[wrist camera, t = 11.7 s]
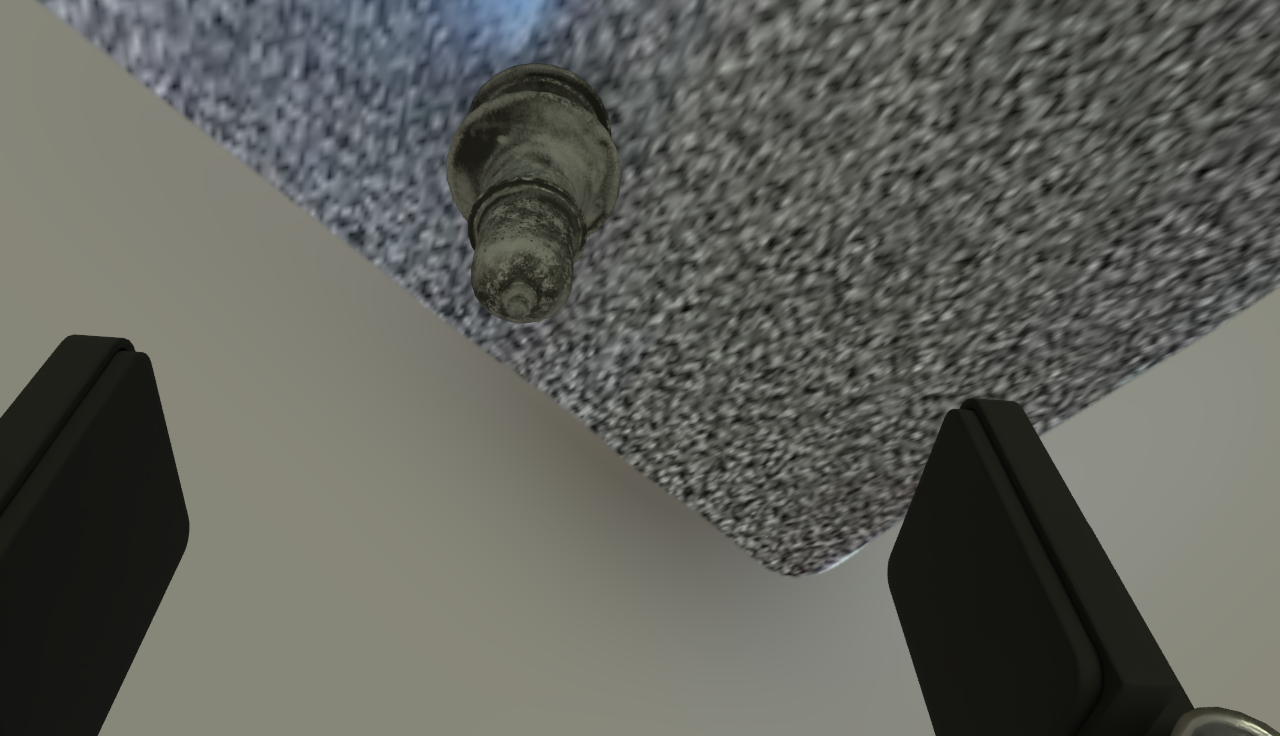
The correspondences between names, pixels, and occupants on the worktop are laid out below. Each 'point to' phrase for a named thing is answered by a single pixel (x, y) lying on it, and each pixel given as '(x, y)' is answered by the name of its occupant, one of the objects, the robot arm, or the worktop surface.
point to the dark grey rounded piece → (532, 186)
